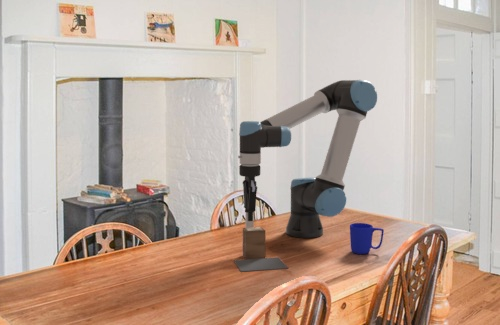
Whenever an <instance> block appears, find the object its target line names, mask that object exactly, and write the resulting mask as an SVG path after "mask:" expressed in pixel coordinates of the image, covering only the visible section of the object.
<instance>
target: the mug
mask: <svg viewBox="0 0 500 325" xmlns="http://www.w3.org/2000/svg"><path fill="white" fill-rule="evenodd" d="M375 231H380V232H381V234H380V241H379V244H378V245H377V246H373V245H372V243H373V235H374V234H373V233H374V232H375ZM349 235H350V236H349V238H350V250H351V252H352V253H354V254H357V255H367V254H369V252H371V249H372V250H377V249H380V247H381V246H382V244H383V238H384V229H383V228H381V227H380V228H379V227H374V226H373V225H372V224H370V223H365V222H355V223H351V224H350V225H349Z"/></svg>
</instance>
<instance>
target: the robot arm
mask: <svg viewBox="0 0 500 325" xmlns="http://www.w3.org/2000/svg"><path fill="white" fill-rule="evenodd" d="M377 102H378V93H377V90H376V88H375V86H374V84H373V83H372V82H370V81H368V80H362V79H355V80H354V79H353V80H351V79H349V80H347V79H345V80H338V81H335V82H333V83H330V84H329V85H326V86H324V87H323V88H321V89H318V90H316V91H315V92H314V93H313V95H312V96H310V97H307V99H303V101H300V102H298V103H296V104H294V105H292V106H290V107H288V108H286V109H284V110H282V111H280V112H277V113H276V114H274V115H272V116H270V117H268V118H266V119H264V120H262V121H253V120H251V121H249V120H248V121H247V120H246V121H241V122H240V124H239V134H238V136H239V155H238V156H237V157H238V159H239V164H240V165H239V167H238V168H239V171H238V172H239V176H241V177H244V180H242V185H243V186H242V188H243V208H244V213H245V221H244V222H245V227H244V228H254V224H255V223H254V221H255V217H254V214H255V212H256V208H257V205H256V203H257V192H258V186H257V181H256V177H260V175H261V165H260V164H261V163H262V162H261V160H262V158H261V157H262V156H261V155H262V154H261V153H262V152H261V151H262V150H261V148H278V147H279V148H282V147H283V148H284V147H287V146H289V145H290V144H291V140H292V131H291V129H292V128H295V127H297V126H298V125H301V124H302V123H305V122H306V121H308V120H310V119H312V118H314V117H316V116H318V115H321V113H322V114H327V113H329V112H331V111H336V112H337V114H338V118H337V120H336V123H335V127H334V130H333V133H332V137H331V140H330V143H329V147H328V150H327V152H326V156H325V160H324V162H323V166H322V169H321V173H320V174H319V175H317V176H315V177H301V178H293V179H292V180H291V182H290V188H289V189H290V215H289V218H288V222H287V224H286V228H285V234H287V235H288V236H291V237H294V238H303V239H309V238H311V239H312V238H317V237H321V236H323V235H324V227H323V223H322V220H321V218H320V216H322V217H330V218H332V217H335V216H337V215H340V214H341V213H342V212H343V210H344V208H345V206H346V205H347V196H346V193H345V190H344V189H345V186H346V185H345V183H344V181H343V179H344V177H345V173H346V171H347V166H348V163H349V160H350V156H351V152H352V151H353V150H352V149H353V147H354V142H355V139H356V137H357V133H358V130H359V127H360V124H361V121H363V120H365V119H366V117H367V114H368V112H370V111H371V110H373V109H374V108H375V107H376V104H377Z"/></svg>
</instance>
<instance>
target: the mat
mask: <svg viewBox="0 0 500 325" xmlns="http://www.w3.org/2000/svg"><path fill="white" fill-rule="evenodd" d="M233 262H234V263H235V265H236V267H237V268H238V269H239V271H240V272H241V273H245V272H260V271H273V270H275V271H276V270H286V269H289V267H288V266H287V265H286V263H284V261H283V260H282V259H281V258H280V257H278V256H277V257H265V258H260V259H245V258H244V259H233Z"/></svg>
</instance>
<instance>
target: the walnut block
mask: <svg viewBox="0 0 500 325" xmlns="http://www.w3.org/2000/svg"><path fill="white" fill-rule="evenodd" d="M242 256H243V258H244V260H245V259H260V258H266V230H265V228H264V227H262V226H258V227H257V226H256V227H254V228H245V227H242Z"/></svg>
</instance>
